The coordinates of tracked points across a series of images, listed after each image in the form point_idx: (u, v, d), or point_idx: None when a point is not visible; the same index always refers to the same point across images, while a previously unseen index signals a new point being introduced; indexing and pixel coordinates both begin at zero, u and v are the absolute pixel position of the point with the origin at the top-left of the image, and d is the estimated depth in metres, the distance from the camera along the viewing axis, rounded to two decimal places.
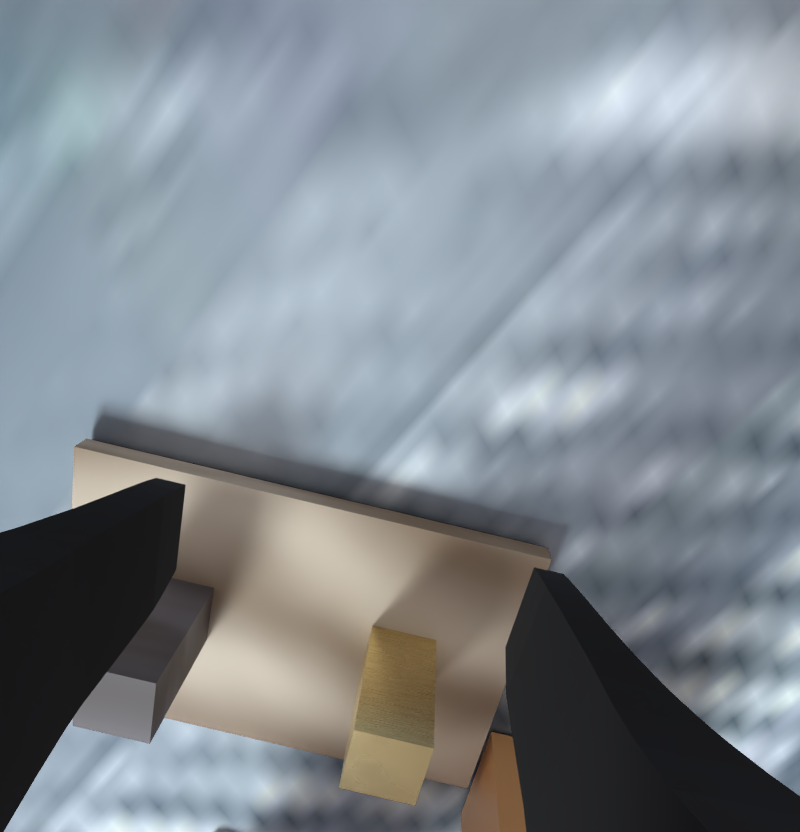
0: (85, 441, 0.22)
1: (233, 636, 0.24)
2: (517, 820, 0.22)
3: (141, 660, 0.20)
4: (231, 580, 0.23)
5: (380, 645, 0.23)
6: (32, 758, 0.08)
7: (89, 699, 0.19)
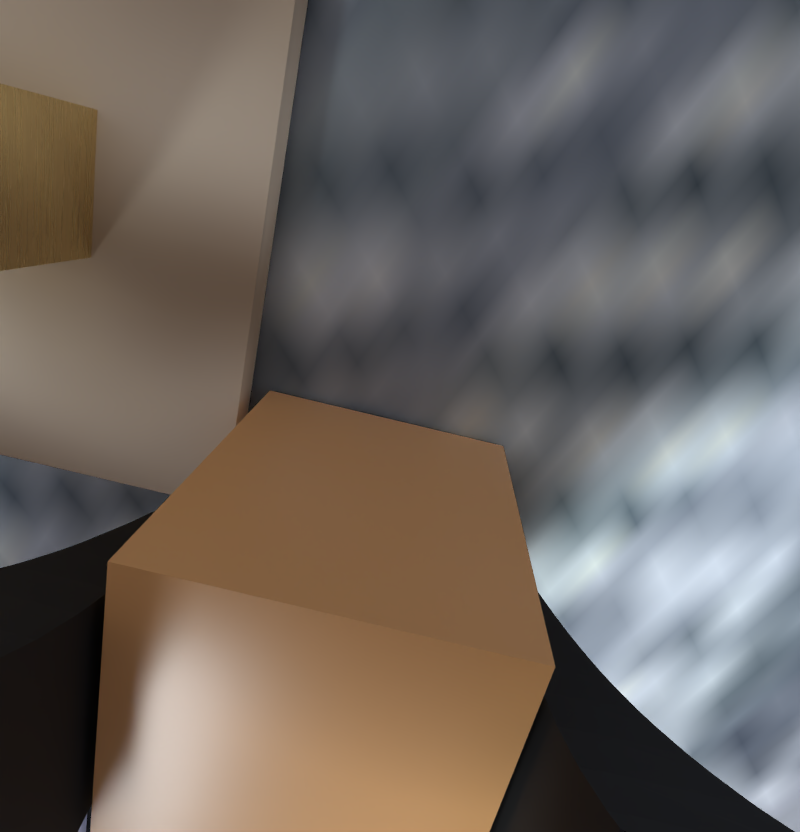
0: None
1: None
2: (248, 472, 0.09)
3: None
4: None
5: None
6: None
7: None
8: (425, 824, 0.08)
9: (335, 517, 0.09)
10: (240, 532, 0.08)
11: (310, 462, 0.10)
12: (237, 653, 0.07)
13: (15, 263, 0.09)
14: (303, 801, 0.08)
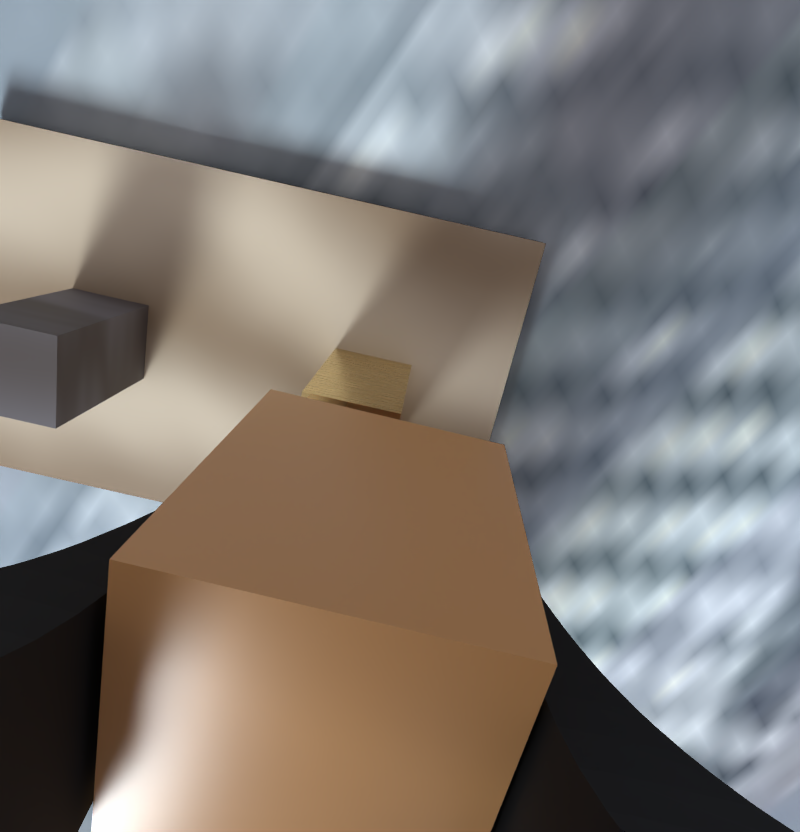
0: None
1: (174, 371, 0.21)
2: (249, 470, 0.09)
3: (44, 323, 0.16)
4: (168, 293, 0.20)
5: (343, 357, 0.19)
6: None
7: None
8: (427, 822, 0.08)
9: (336, 515, 0.09)
10: (242, 530, 0.08)
11: (311, 461, 0.10)
12: (239, 651, 0.07)
13: None
14: (305, 799, 0.08)
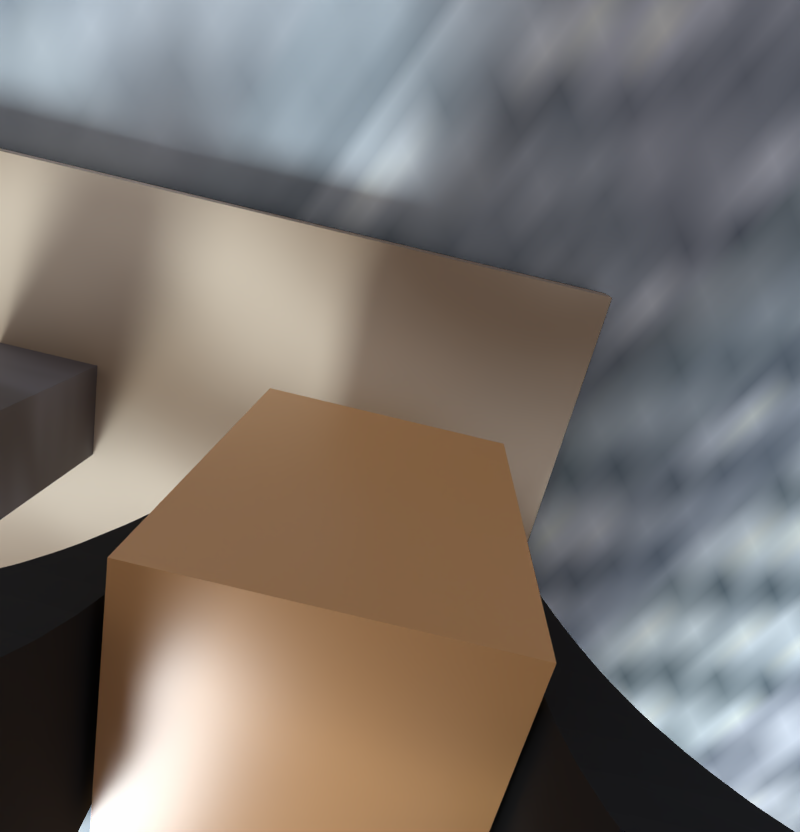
0: None
1: (131, 447, 0.16)
2: (248, 469, 0.09)
3: None
4: (122, 351, 0.15)
5: None
6: None
7: None
8: (426, 821, 0.08)
9: (335, 514, 0.09)
10: (240, 529, 0.08)
11: (310, 460, 0.10)
12: (237, 650, 0.07)
13: None
14: (303, 798, 0.08)
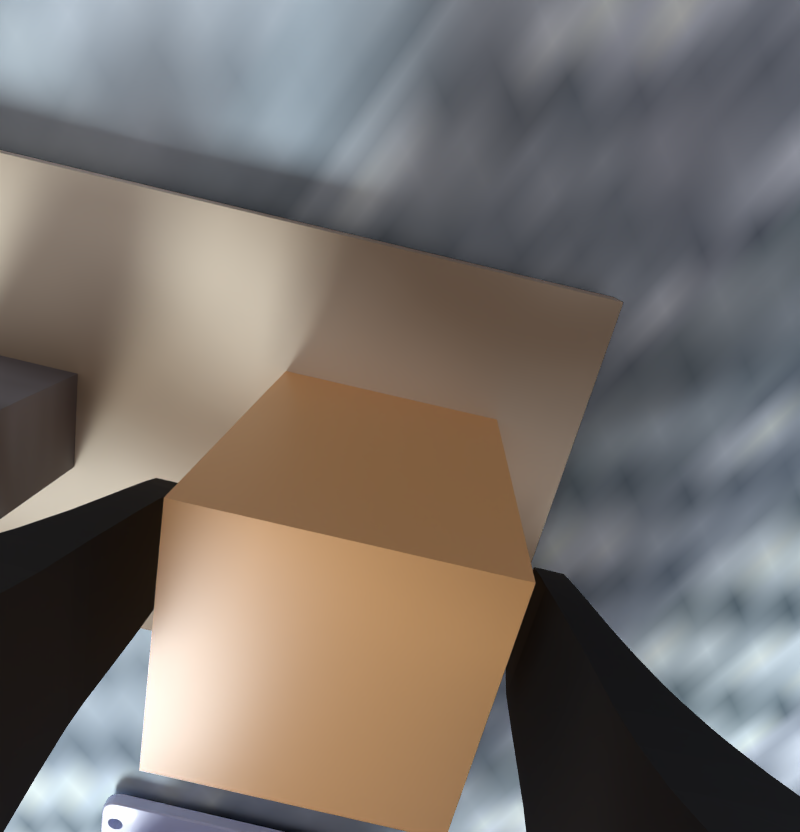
0: None
1: (115, 459, 0.15)
2: (272, 435, 0.11)
3: None
4: (104, 359, 0.15)
5: None
6: (32, 758, 0.08)
7: None
8: (428, 726, 0.09)
9: (349, 471, 0.10)
10: (270, 480, 0.09)
11: (325, 429, 0.12)
12: (270, 576, 0.08)
13: None
14: (325, 707, 0.09)
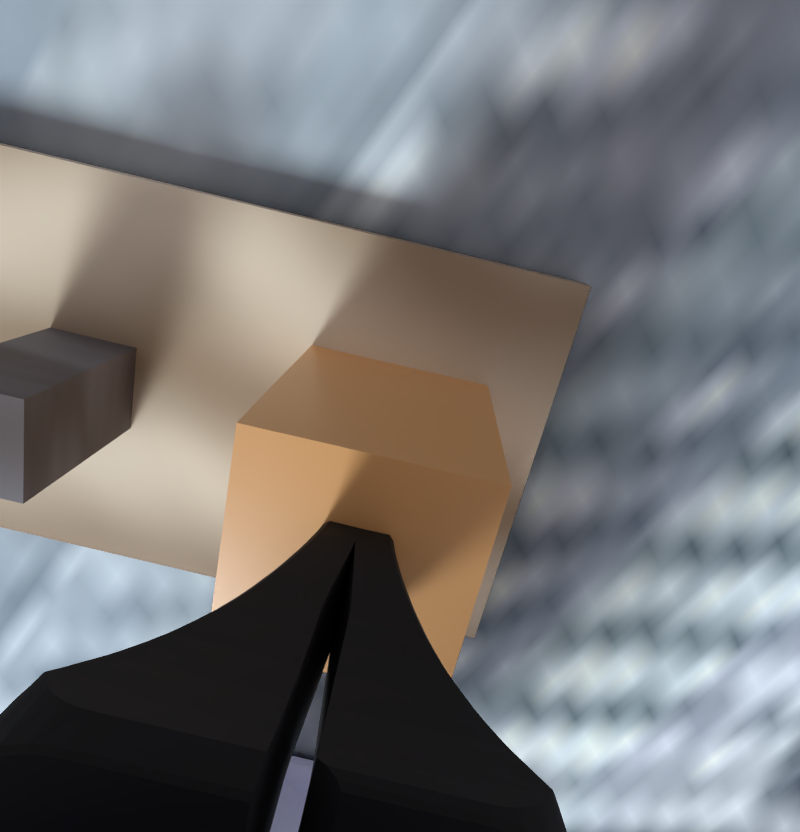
0: None
1: (165, 421, 0.18)
2: (308, 388, 0.14)
3: (10, 380, 0.14)
4: (159, 335, 0.17)
5: None
6: (272, 814, 0.09)
7: None
8: (432, 604, 0.12)
9: (370, 413, 0.13)
10: (311, 416, 0.12)
11: (348, 386, 0.14)
12: (314, 483, 0.11)
13: None
14: None
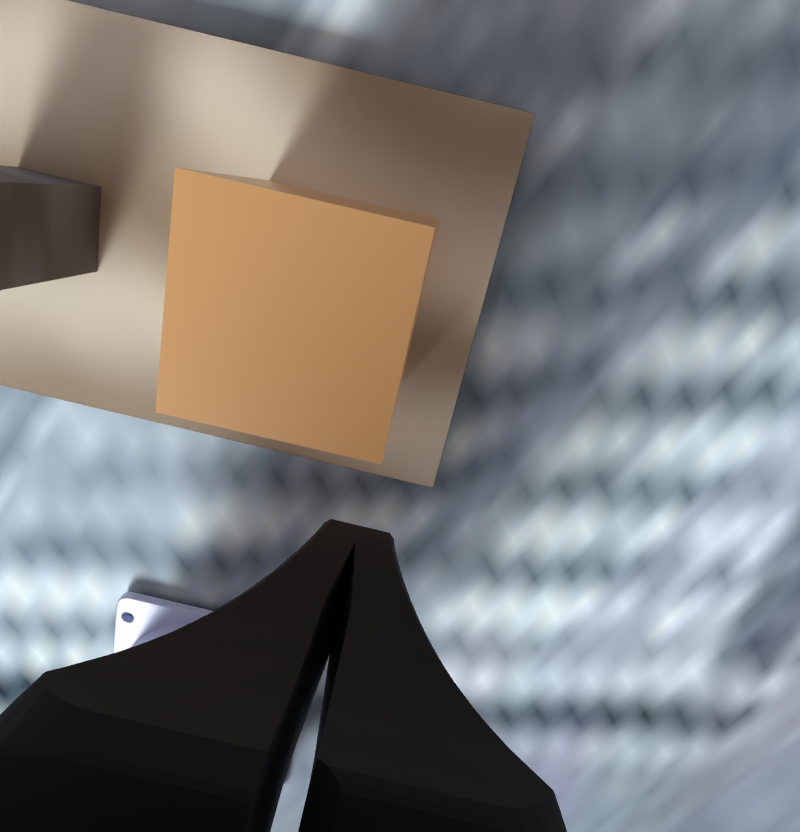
0: None
1: (130, 263, 0.19)
2: (254, 181, 0.14)
3: None
4: (122, 173, 0.18)
5: None
6: (273, 814, 0.09)
7: None
8: (365, 360, 0.13)
9: (311, 195, 0.14)
10: (251, 182, 0.13)
11: (296, 189, 0.15)
12: (250, 230, 0.12)
13: None
14: (290, 346, 0.13)
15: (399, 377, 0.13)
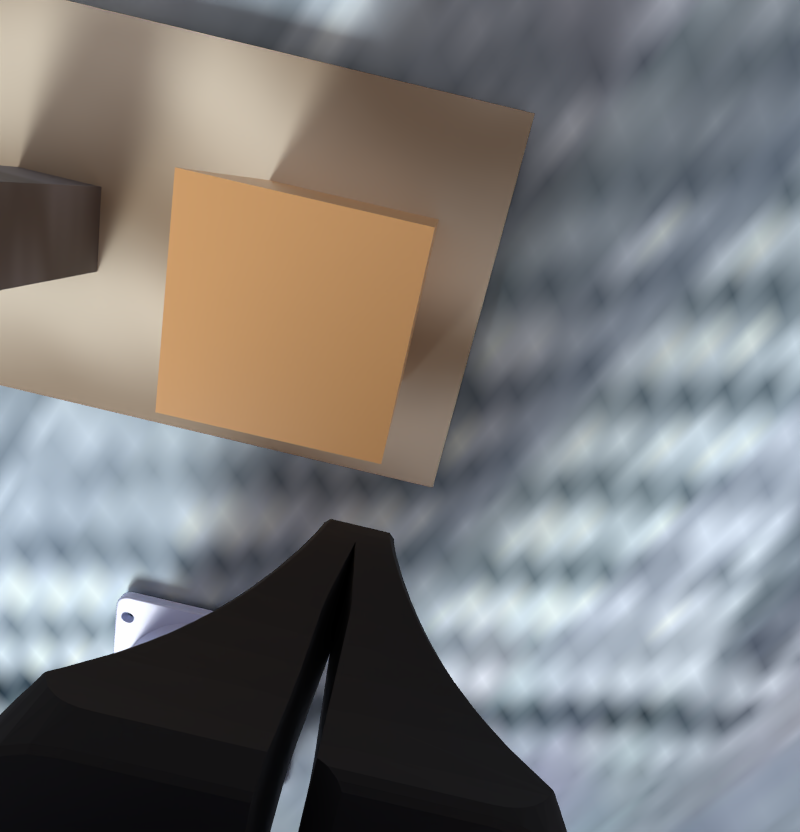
0: None
1: (130, 263, 0.19)
2: (254, 181, 0.14)
3: None
4: (122, 173, 0.18)
5: None
6: (273, 814, 0.09)
7: None
8: (365, 360, 0.13)
9: (311, 195, 0.14)
10: (250, 182, 0.13)
11: (296, 189, 0.15)
12: (250, 230, 0.12)
13: None
14: (290, 346, 0.13)
15: (399, 377, 0.13)
